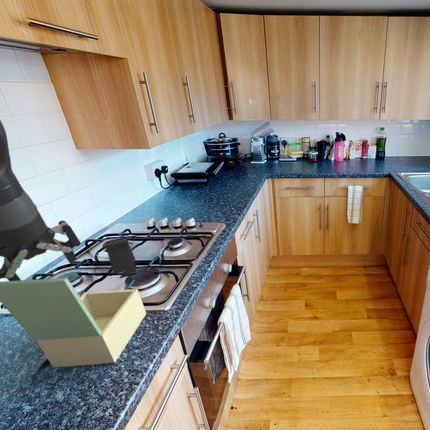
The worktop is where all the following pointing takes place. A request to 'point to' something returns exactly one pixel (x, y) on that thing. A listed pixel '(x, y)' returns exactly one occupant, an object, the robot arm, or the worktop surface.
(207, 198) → the worktop surface
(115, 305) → the box
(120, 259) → the phone stand
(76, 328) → the lid
